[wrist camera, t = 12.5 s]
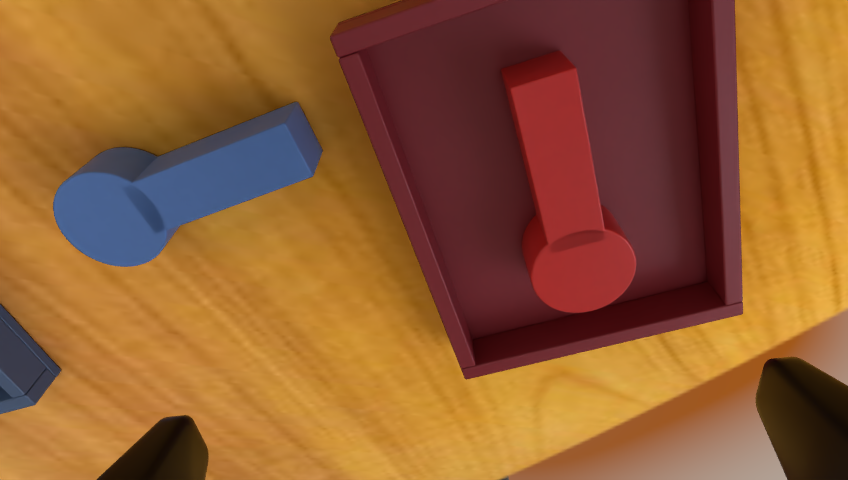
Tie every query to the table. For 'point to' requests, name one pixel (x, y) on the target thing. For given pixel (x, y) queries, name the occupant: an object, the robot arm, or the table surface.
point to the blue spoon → (180, 185)
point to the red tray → (505, 172)
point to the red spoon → (564, 192)
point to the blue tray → (21, 366)
